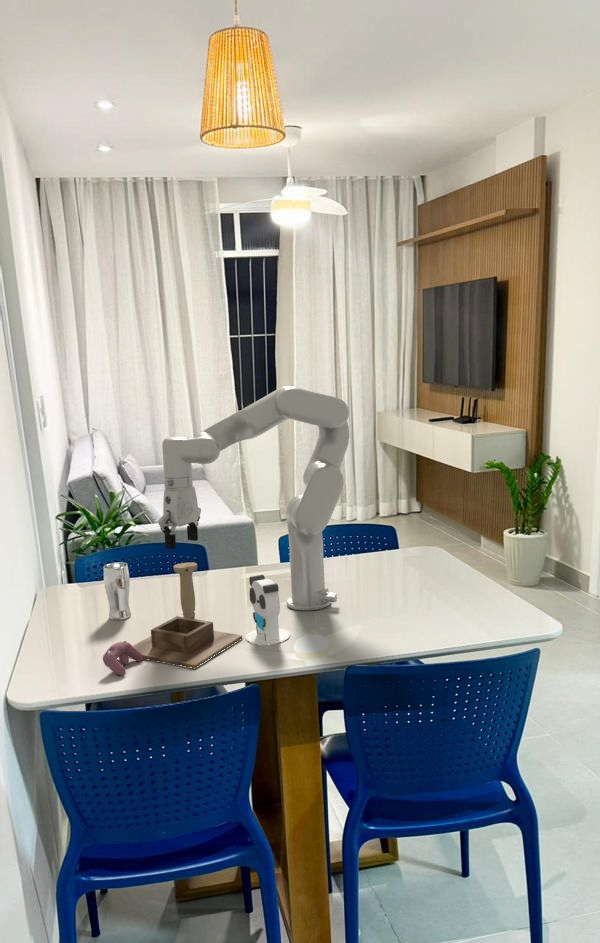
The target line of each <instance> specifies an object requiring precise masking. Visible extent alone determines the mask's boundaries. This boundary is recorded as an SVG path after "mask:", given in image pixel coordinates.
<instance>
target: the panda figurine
mask: <svg viewBox="0 0 600 943" xmlns="http://www.w3.org/2000/svg"><path fill="white" fill-rule="evenodd" d="M248 583H249V585H250V588H249V600H250V603H251V605H252V609H253V611H254V612H252V618H253V621H254V622H255V625H256V629H254V630H251V631H249V632H248V633H247V634H246V635H245V640H247V641H249V642H250V644H251V643H254V644H258V645H257V646H269V645H268V644H275V645H277V644H276V643H279V642H282V641H285V640H286V641H288V640H289V639H290V638H289V637H291V633H290V631H289V630H287V629H284V628H282V627H281V628H280V627H279V615H280V613H281V611H280V610H281V602H280V594H279V584H278V583H275V582H274V581H273V580H272V579H270V578H265V575H264V574H258V575H254V576H253V575H252V576H249V581H248ZM288 638H289V639H288ZM287 639H288V640H287ZM247 641H246V642H247ZM286 641H285V642H286ZM249 642H248V643H249ZM282 643H283V642H282ZM254 644H253V645H254ZM259 644H260V645H259ZM279 644H280V643H279Z"/></svg>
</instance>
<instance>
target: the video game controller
mask: <svg viewBox="0 0 600 943" xmlns="http://www.w3.org/2000/svg"><path fill="white" fill-rule="evenodd" d="M129 658H130V659H132V660H134V661H136V662H142V661H143V660H144V659H143V656H142V654H141V653H140V652H139V651H138V650H137V649H135V648H134V647H133V645H132V644H131V643H130V642H127V641H126V640H124V641H120V642H115V643H114V644H112V645H110V646H109V648H107V650H106V651H105V653H104V654H103V656H102V661H103V664H104V666H106V667H107V668H108V669H110V670H111V672H113V673H114V674H116V675H118V676H119V675H120V677H124V676H125V675H126V674H127V672H126V669H125V667H124V666H126V665H128V664H129V663H130V660H129Z"/></svg>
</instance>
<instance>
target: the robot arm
mask: <svg viewBox="0 0 600 943" xmlns="http://www.w3.org/2000/svg"><path fill="white" fill-rule="evenodd" d="M349 416H350V409H349V407H348V404H347V403H346V402H345V401H344V399H342V398H339V397H336V396H332V395H327V394H323V393H320V392H319V393H318V392H316V391H315V392H314V391H310V390H306V389H303V388H300V387H297V386H291V385H285V386H281V387H279V388H277V389H276V390H273V391H272V392H270V393H269V394H267V395H265V396H263V397H262V398H260V399H258V400H256V401H254V402H253V403H251V404H248V405H247V406H246V407H244V408H242V409H241V410H238V411H236V412H235V413H233V414H231V415H229V416H228V417H226V418H224V419H222V420H220V421H218V422H216V423H214V424H212V425H211V426H208V427H207V428H206V429H204V430H202V431H200V432H199V433H197V434H196V435H194V437H192V438H188V437H186V436H170V437H166V438H163V440H162V445H161V446H162V448H161V450H162V461H163V462H162V464H163V481H164V492H163V502H162V503H163V504H162V505H163V506H162V510H163V512H162V513H163V515H162V516H161V517H160V518H159V520H157V521H158V522H157V523H158V526H159V527H160V531H162V534H163V535H164V547H165V549H169V550H176V549H177V543H176V542H177V541H176V534H175V531H176V528H177V527H179V528H180V527H183V526H186V525H187V526H186V534H187V537H186V538H187V540H188V541H194V542H196V541H198V540H199V534H198V527H199V525H200V523H199V521H200V519H201V512H202V508H201V507H199V505H198V497H197V492H196V489H195V485H194V484H193V468H192V467H193V466H192V464H201V465H209V464H212V463H214V462H216V461H217V460H218V458H219V457H220V453H221V451H223V450H225V449H227V448H229V447H231V446H232V445H234V444H236V443H239V442H242V441H245V440H251V439H254V438H257V437H259V436H261V435H263V434H265V433H266V432H268V431H270V430H271V429H273V428H275V427H277V426H279V425H280V424H282V423H284V422H286V421H287V420H289V419H290V420H294V421H296V422H297V421H298V422H300V423H301V422H302V423H304V424H305V423H306V424H310V425H314V426H318V430H319V431H318V438H317V440H316V444H315V446H314V450H313V452H312V454H311V457H310V458H309V461H308V464H307V465H306V468H305V469H304V471H303V477H302V479H303V484H304V485H305V490H304V492H303V494H297V495H295V496H294V497H292V498H291V499H290V501H289V502H288V504H287V506H286V511H285V512H286V513H285V514H286V515H285V517H286V526H287V533H288V535H287V536H288V546H289V548H288V549H289V565H290V584H291V596H290V597H289V598H287V599H286V605H287V607H288V608H290V609H293V610H295V611H296V610H297V611H306V612H307V611H315V610H321V609H324V608H327V607H328V606H329V605H331V603H336V602H337V601H338V596H337V593H334V592H330V591H329V587H326V586H325V585H326V583H325V567H324V566H325V564H324V562H325V561H324V543H323V542H324V540H323V539H324V538H323V531H324V530H325V529H326V527H328V526H327V525H328V524H329V522H330V521H331V517H332V515H333V514H334V511H335V508H336V507H337V504H338V502H339V500H340V497H341V495H342V491H343V488H344V481H345V480H344V476H343V473H342V472H341V470H340V469H341V465H342V462H343V460H344V457H345V455H346V452H347V450H348V446H349V441H350V428H349V422H348V419H349Z"/></svg>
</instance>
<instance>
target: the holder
mask: <svg viewBox="0 0 600 943" xmlns="http://www.w3.org/2000/svg"><path fill="white" fill-rule="evenodd" d="M240 639H242V640H243V635H242V634H237V633H230V632H225V631H220V630H219V631H218V630H215V628H214V622H213V621H210V620H204V619H198V618H185V617H183V616H177V615H176V616H174V617H173V618H171V619H169V620H167V621H165V622H162V623H161V624H159V625H158V626H155V627H153V628H152V629H150V636H148V637H146V638H144V639H143V640H141V641H139V642H137V643H135V644H133V645H132V646H133V647H134V648H135V649H137V650H138V651H139V652H140V653H141V654H142V656H143V660H146V659H149V660H148V661H151V660H154V661H153V662H156V661H159V662H158V663H161V662H165V663H164V664H166V663H170V664H169V665H171V664H175V665H174V666H176V665H182V666H186V667H192V668H196V667H197V666H199V665H200V664H202V663H204V662H205V661H207V660H208V659H210V658H211V657H213V656H214V655H216V654H218V653H219V652H221V651H222V650H224V649H226V648H227V647H229V646H231V645H232V644H234V643H235V642H237V641H239V640H240ZM240 641H241V640H240ZM240 641H239V642H240ZM237 643H238V642H237ZM234 645H235V644H234ZM232 646H233V645H232ZM232 646H231V647H232ZM229 648H230V647H229ZM226 650H227V649H226ZM221 653H222V652H221ZM218 655H219V654H218ZM210 660H211V659H210ZM207 662H208V661H207ZM204 664H205V663H204ZM186 667H185V668H186ZM199 667H200V666H199ZM196 669H197V668H196Z"/></svg>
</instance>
